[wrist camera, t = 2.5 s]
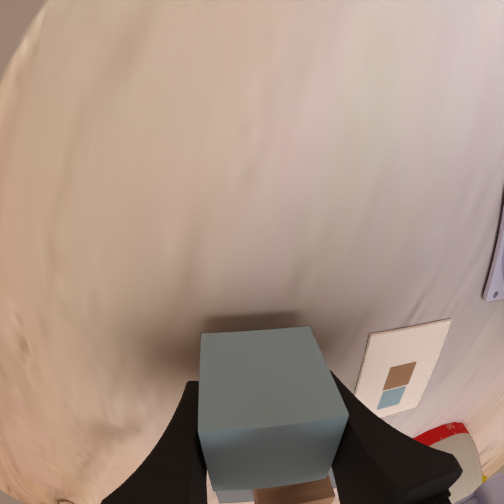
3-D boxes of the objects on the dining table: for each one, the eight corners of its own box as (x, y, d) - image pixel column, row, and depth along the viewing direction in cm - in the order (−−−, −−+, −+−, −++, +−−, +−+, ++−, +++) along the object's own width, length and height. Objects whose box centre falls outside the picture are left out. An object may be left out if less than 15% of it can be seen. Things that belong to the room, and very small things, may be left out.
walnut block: (321, 452, 19) (335, 496, 15) (312, 480, 21) (322, 518, 17) (252, 462, 18) (259, 509, 15) (252, 489, 20) (258, 528, 16)
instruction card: (450, 318, 16) (452, 320, 16) (415, 405, 19) (416, 407, 19) (369, 333, 16) (371, 336, 16) (344, 423, 19) (345, 426, 18)
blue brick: (309, 325, 13) (349, 414, 8) (300, 397, 15) (325, 478, 10) (201, 333, 12) (198, 431, 8) (210, 404, 14) (213, 491, 9)
